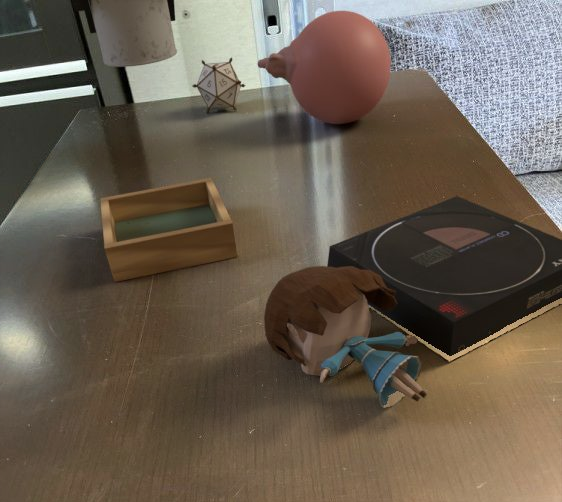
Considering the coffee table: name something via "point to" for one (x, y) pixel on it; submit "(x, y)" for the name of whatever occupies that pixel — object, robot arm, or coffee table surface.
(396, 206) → the coffee table surface
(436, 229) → the portable cd player
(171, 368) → the coffee table surface
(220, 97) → the game die
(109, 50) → the speckled white tin can
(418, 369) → the figurine
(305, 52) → the balloon
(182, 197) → the wooden box
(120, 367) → the coffee table surface
